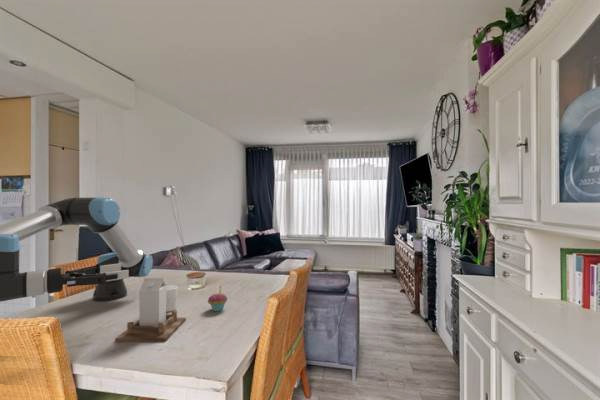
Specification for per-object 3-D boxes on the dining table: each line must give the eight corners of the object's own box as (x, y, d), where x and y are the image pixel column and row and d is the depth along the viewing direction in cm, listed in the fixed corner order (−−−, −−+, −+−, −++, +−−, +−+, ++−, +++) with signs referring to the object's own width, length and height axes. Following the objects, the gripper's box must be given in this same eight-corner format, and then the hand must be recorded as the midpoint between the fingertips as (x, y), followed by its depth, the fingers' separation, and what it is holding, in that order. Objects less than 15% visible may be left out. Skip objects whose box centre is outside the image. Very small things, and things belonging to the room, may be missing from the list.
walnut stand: (142, 320, 118) (142, 308, 118) (185, 320, 118) (185, 307, 118) (115, 341, 100) (115, 326, 100) (166, 341, 100) (166, 326, 100)
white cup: (170, 313, 126) (170, 290, 127) (155, 311, 128) (155, 289, 128) (181, 306, 134) (181, 285, 134) (166, 305, 136) (166, 284, 136)
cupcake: (230, 307, 133) (230, 281, 133) (219, 313, 125) (219, 286, 125) (215, 305, 136) (215, 280, 136) (203, 311, 128) (203, 285, 128)
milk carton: (147, 323, 112) (147, 275, 113) (166, 322, 113) (166, 275, 113) (139, 331, 105) (139, 280, 106) (158, 330, 106) (159, 279, 106)
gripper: (46, 284, 98) (117, 274, 112) (46, 304, 79) (132, 288, 94) (46, 263, 98) (117, 255, 112) (46, 277, 79) (132, 265, 94)
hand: (124, 270), depth 103 cm, fingers open, 13 cm apart
